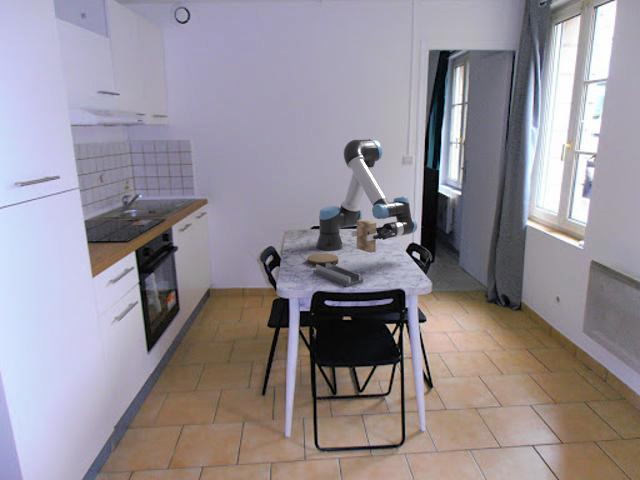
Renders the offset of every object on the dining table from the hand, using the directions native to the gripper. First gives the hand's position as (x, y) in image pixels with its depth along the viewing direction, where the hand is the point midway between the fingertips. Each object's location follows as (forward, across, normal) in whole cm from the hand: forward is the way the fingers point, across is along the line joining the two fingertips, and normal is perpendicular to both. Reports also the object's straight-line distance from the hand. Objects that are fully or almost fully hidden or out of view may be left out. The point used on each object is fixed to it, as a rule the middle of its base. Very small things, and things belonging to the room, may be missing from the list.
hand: (359, 236), depth 211 cm
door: (-4, 0, -8) cm, 9 cm away
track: (+13, 0, -18) cm, 22 cm away
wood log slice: (+3, +24, -19) cm, 31 cm away
